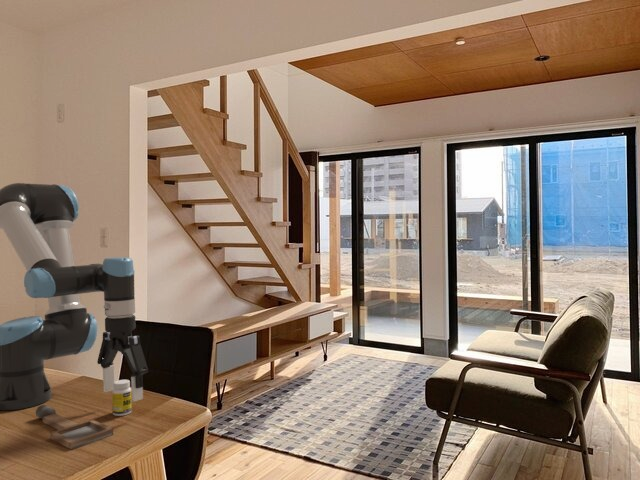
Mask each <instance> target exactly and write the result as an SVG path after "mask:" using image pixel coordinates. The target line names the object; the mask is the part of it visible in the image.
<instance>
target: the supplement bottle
mask: <svg viewBox="0 0 640 480" xmlns="http://www.w3.org/2000/svg"><path fill="white" fill-rule="evenodd" d="M111 395H112V396H111V397H112V399H111V400H112V415H114V416H116V417H117V416H118V417H120V416H121V417H122V416H126V415H127V416H128V415H129V414H131V413H132V411H133V410H132V403H133V401H132V387H131V381H130V380H129V379H119V380H114V390H112V393H111Z"/></svg>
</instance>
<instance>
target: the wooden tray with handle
mask: <svg viewBox="0 0 640 480" xmlns="http://www.w3.org/2000/svg"><path fill="white" fill-rule="evenodd" d="M35 415H36V417H37V418H40V419H42V423H43V424H45V425H48V426H50V427H52V428H54V429H56V430H54V431H51V432H50V433H49V437H50V440H52V441H55V442H56V443H59V444H60V445H61V446H63V447H65V448H67V449H69V450H75V449H77V448H80V447H84V446H85V445H88V444H89V445H90V444H91V443H93V442H97V441H99V440H102V439H105V438H108V437H110V436H113V435H114V428H112V427H111V426H108V425H106V424H103V423H101V422H99V421H97V420H95V419H92V418H91V419H88V420H85V421H82V422H79V423H77V422H75V421H73V420H70V419H68V418H66V417H64V416H62V415H59V414H57V412H56V409H55V408H53V407H51V406H48V405H46V404H42V405H41V404H40V405H38V407H37V408H36V410H35Z"/></svg>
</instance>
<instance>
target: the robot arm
mask: <svg viewBox="0 0 640 480" xmlns="http://www.w3.org/2000/svg"><path fill="white" fill-rule="evenodd" d="M79 211H80V205H79V200H78V197H77V195H76V193H75V192H74V191H73V189H71V188H70V187H69V186H68V185H67V186H66V185H59V184H55V183H54V184H43V183H42V184H41V183H24V182H16V183H15V182H14V183H11V184H8V185H5V186H3V187H2V188H1V189H0V229H2V230H3V232H4V233H5V235H6V237H7V239H8V240H9V242H10V244H11V246H12V248H13V249H14V252H15V253H16V254H17V256H18V258H19V259H20V262H21V263H22V264H23V266H24V268H25V270H26V272H25V274H24V278H23V287H24V288H25V289H24V290H25V292H26V295H27V296H29V297H30V298H32V299H40V298H41V299H42V298H43V299H47V301H48V302H47V303H48V307H49V308H48V310H47V311H45V313H44V320H43V317H41V316H38V315H32V316H28V317H27V316H24V317H18V318H15V319H11V320H8V321H5V322H3V323H1V324H0V411H16V410H22V409H26V408H28V409H29V408H31V407H35V406H40V405H41V404H43V403H46V402H48V401H49V400H50V399H52V387H51V384H50V382H49V381H48V378H47V375H46V373H45V368H44V367H45V366H44V365H45V361H47V360H52V359H58V358H62V357H66V356H73V355H74V356H75V355H78V354H81V353H84V352H89V351H90V350H91V349H92V348H93V347H94V345H95V342H96V340H97V337H98V322H97V319H96V318H95V316H94V314H91V312H90V313H88V310H87V307H86V306H85V305H83V304H82V303H81V300H80V295H81V294H89V293H97V292H98V293H99V292H103V299H104V300H103V301H104V305H103V309H104V315H105V316H106V317H105V318H104V332H103V333H102V340H101V345H100V350H99V353H98V358H97V365H100V367H101V368H102V381H103V382H102V383H103V393H108V392H111V391H113V390H114V382H115V371H114V370H115V369H114V368H115V367H114V361H115V358H116V356H117V354H118V353H121V355H124V357H125V360H126V361H127V364H128V366H129V368H130V371H131V372H132V374H131V376H130V380H131V381H130V386H131V398H132V403H133V402H137V401H140V400H143V399H144V374H146V373H148V372H149V368H148V364H147V361H146V358H145V354H144V351H143V348H142V344H141V337H140V335H134V336H133V333H132V331H133V330H135V329H136V327H137V325H136V316H135V313H136V300H135V269H134V261H133V259H132V257H129V256H123V257H120V256H119V257H117V256H116V257H107V258H104V259H103V262H102V264H101V263H91V264H85V265H75V262H74V261H75V260H74V253H73V247H72V241H71V234H70V230H71V228H72V227H74V225H75V224H74V221H76V220H77V219H78V217H79Z"/></svg>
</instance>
